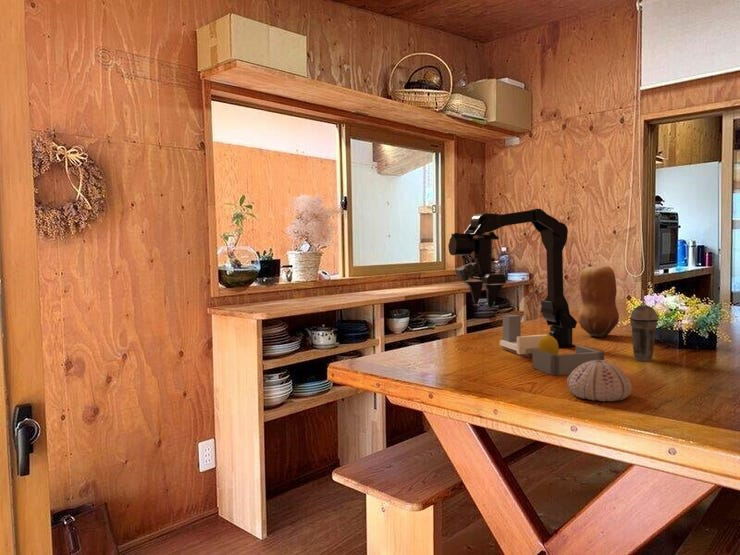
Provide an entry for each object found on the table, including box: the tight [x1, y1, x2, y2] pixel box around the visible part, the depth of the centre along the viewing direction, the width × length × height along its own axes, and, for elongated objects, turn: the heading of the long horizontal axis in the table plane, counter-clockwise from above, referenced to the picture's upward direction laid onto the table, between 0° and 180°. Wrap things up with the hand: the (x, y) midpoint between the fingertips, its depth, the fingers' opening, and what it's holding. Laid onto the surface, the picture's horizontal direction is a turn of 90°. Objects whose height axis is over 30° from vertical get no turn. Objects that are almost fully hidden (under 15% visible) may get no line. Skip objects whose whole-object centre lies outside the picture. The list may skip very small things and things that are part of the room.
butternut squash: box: [577, 265, 620, 338], centre depth 200 cm, size 14×13×25 cm
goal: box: [532, 345, 605, 377], centre depth 153 cm, size 15×10×5 cm, turn 106°
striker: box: [499, 313, 548, 355], centre depth 175 cm, size 10×15×10 cm, turn 16°
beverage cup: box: [629, 289, 659, 362], centre depth 162 cm, size 7×7×20 cm
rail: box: [500, 345, 533, 359], centre depth 176 cm, size 4×16×1 cm, turn 16°
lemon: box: [538, 333, 560, 355], centre depth 161 cm, size 6×6×8 cm
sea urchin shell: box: [566, 359, 633, 402], centre depth 127 cm, size 13×14×8 cm
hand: (482, 305), depth 177 cm, fingers open, 9 cm apart
